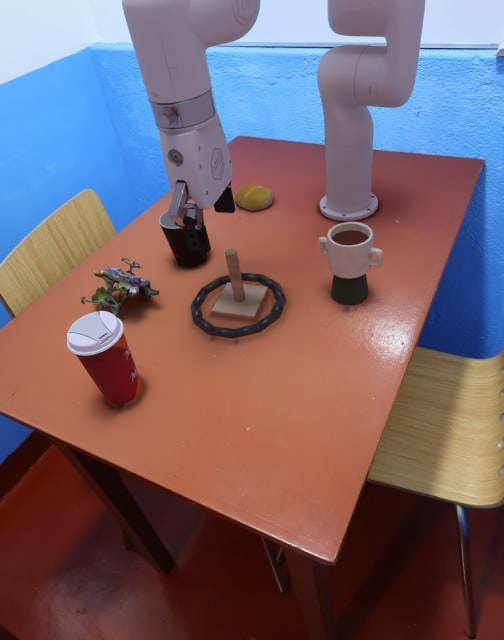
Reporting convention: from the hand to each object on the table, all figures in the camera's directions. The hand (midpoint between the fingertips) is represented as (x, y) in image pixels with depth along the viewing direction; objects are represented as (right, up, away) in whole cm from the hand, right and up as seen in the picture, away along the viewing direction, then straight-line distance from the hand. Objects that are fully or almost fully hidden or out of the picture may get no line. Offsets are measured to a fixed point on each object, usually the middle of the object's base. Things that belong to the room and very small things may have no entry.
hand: (213, 230), depth 67 cm
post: (+3, -10, +17) cm, 20 cm away
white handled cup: (+22, -9, +15) cm, 28 cm away
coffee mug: (-7, +1, +31) cm, 31 cm away
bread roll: (+6, +15, +43) cm, 46 cm away
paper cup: (-14, -24, +5) cm, 28 cm away
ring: (+3, -10, +16) cm, 19 cm away
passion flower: (-18, -11, +20) cm, 29 cm away
